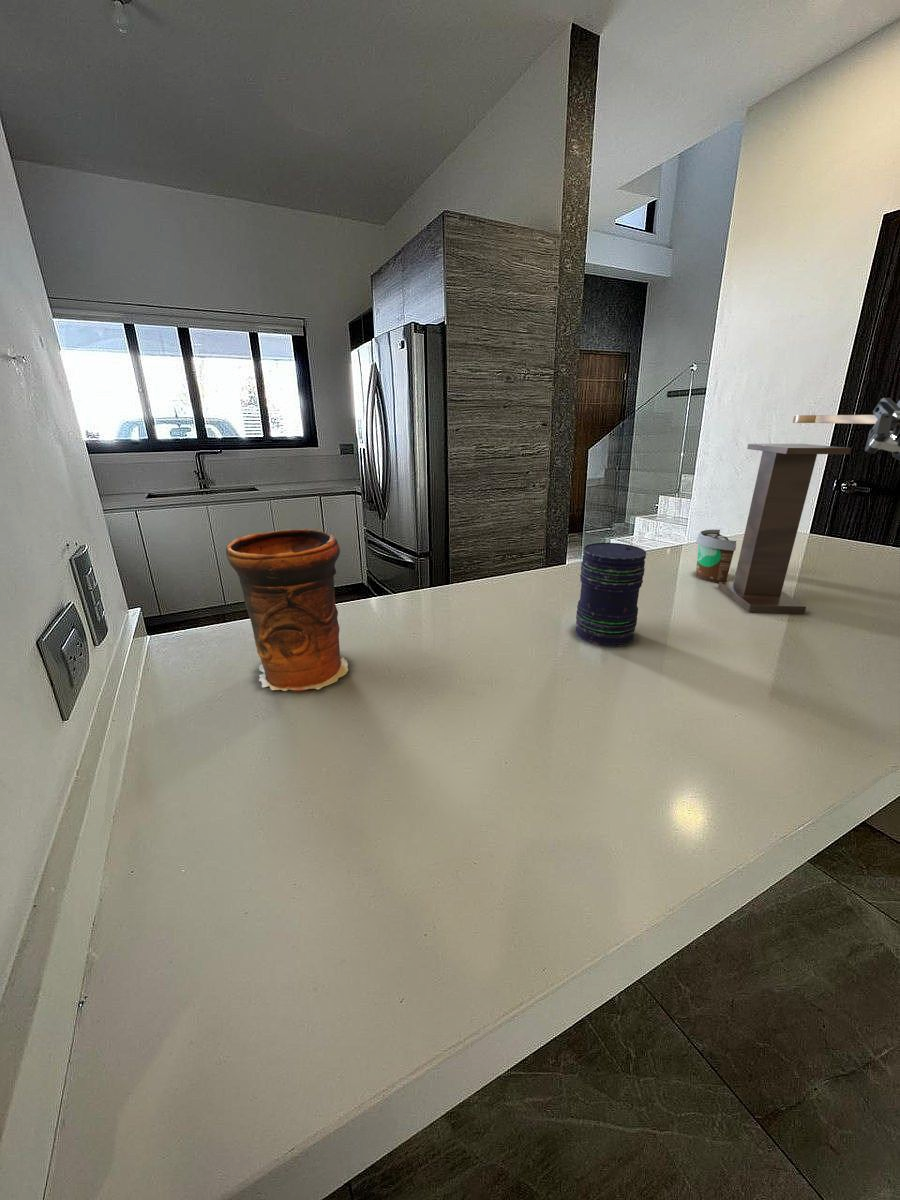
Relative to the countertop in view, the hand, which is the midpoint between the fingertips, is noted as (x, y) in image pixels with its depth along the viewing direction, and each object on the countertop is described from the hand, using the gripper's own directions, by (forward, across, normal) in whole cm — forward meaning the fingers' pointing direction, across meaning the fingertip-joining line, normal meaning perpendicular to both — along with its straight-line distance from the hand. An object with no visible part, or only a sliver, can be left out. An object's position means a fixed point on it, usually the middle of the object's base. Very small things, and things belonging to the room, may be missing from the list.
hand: (890, 404), depth 65 cm
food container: (+13, -4, -50) cm, 52 cm away
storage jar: (-17, -34, -32) cm, 50 cm away
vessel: (-32, -81, -24) cm, 90 cm away
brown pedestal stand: (0, +1, -42) cm, 42 cm away
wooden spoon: (+6, 0, -6) cm, 9 cm away
